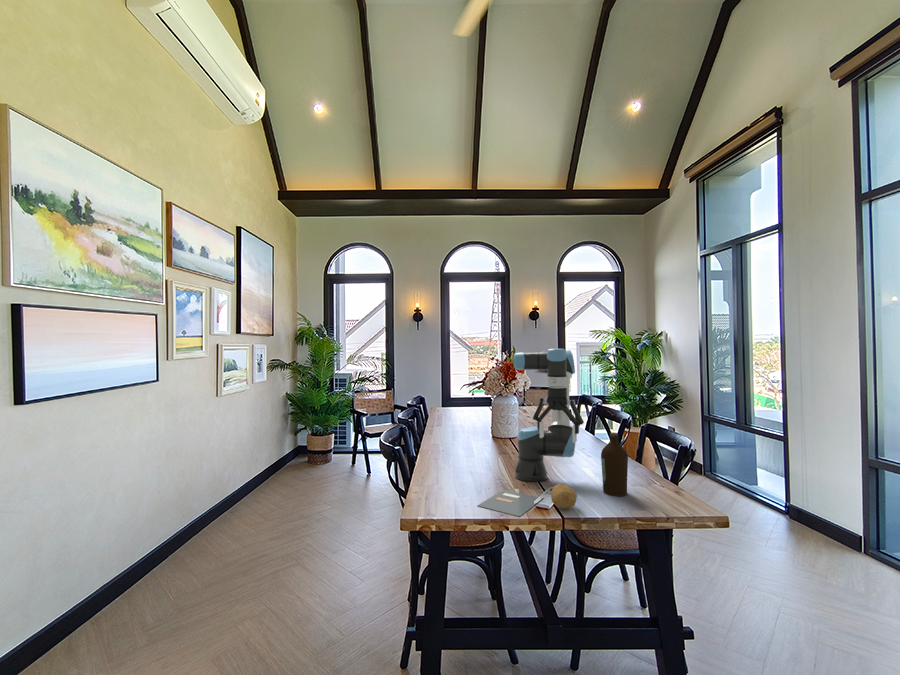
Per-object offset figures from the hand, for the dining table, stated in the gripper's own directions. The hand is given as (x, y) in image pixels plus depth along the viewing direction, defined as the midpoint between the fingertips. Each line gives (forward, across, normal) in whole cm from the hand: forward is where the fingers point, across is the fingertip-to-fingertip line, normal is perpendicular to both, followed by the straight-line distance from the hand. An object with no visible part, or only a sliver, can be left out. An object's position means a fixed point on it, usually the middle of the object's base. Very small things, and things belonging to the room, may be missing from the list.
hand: (557, 439), depth 164 cm
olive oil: (+25, +17, +21) cm, 37 cm away
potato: (+24, +4, -7) cm, 25 cm away
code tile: (+24, -15, -13) cm, 31 cm away
